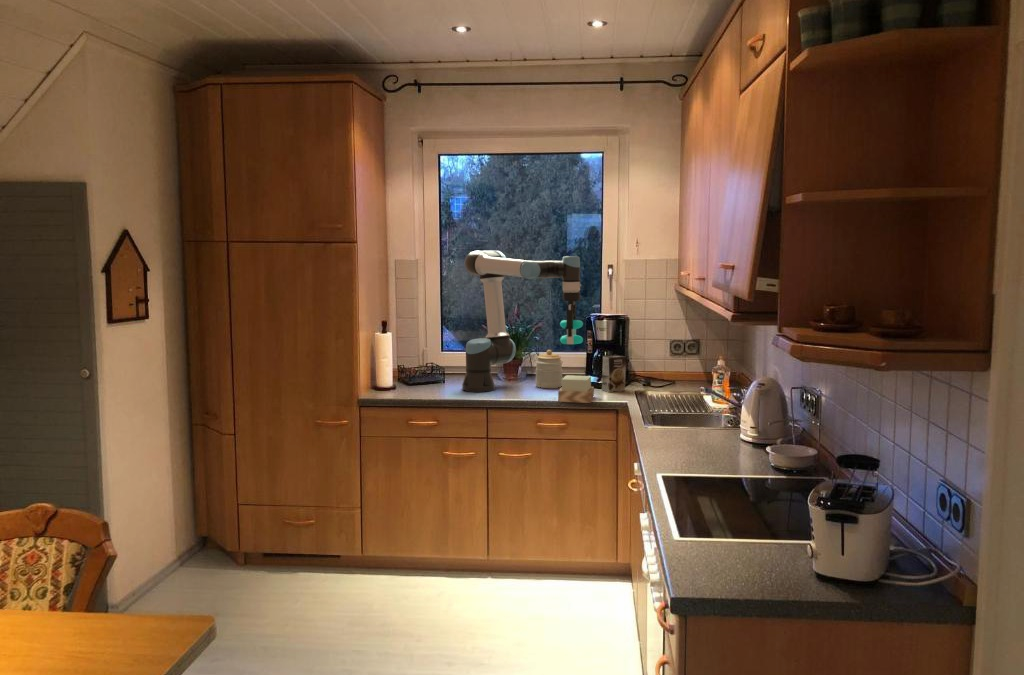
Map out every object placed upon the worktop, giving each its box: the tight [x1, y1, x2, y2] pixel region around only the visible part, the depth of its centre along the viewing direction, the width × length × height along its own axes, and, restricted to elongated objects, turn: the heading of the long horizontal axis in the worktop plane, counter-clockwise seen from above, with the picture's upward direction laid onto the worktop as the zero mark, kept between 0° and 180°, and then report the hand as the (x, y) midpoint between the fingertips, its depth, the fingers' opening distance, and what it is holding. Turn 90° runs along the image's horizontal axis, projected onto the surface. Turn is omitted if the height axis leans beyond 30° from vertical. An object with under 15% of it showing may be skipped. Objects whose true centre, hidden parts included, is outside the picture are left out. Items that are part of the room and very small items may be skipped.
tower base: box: [557, 386, 595, 404], centre depth 337 cm, size 14×14×5 cm
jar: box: [535, 349, 564, 389], centre depth 368 cm, size 13×13×18 cm
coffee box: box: [601, 354, 627, 393], centre depth 357 cm, size 9×6×16 cm
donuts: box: [559, 319, 584, 345], centre depth 337 cm, size 10×10×10 cm
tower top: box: [562, 374, 592, 392], centre depth 336 cm, size 11×11×5 cm
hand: (571, 342), depth 337 cm, fingers closed on donuts, 10 cm apart
